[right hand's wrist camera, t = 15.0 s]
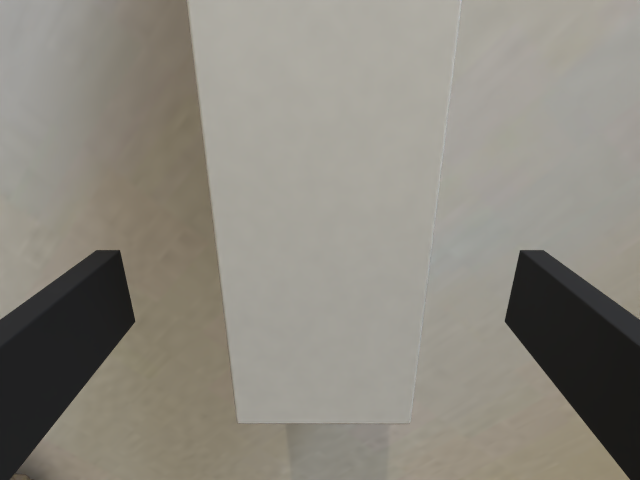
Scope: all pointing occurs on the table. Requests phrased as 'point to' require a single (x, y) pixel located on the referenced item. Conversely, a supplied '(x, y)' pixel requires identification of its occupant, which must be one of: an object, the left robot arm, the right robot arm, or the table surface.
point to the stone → (20, 477)
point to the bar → (323, 195)
